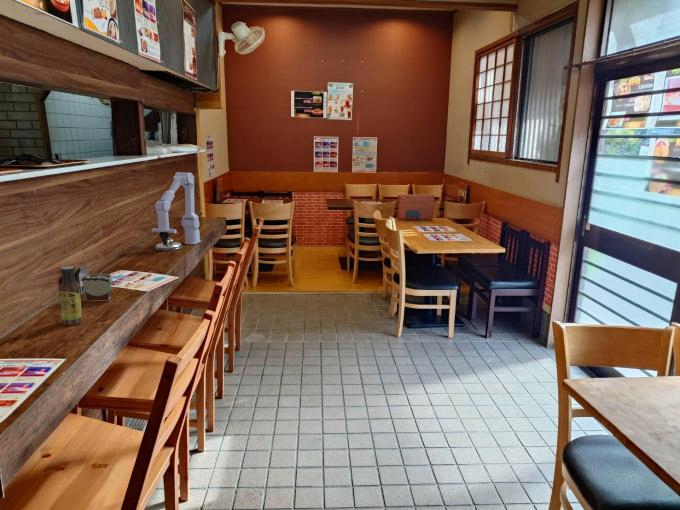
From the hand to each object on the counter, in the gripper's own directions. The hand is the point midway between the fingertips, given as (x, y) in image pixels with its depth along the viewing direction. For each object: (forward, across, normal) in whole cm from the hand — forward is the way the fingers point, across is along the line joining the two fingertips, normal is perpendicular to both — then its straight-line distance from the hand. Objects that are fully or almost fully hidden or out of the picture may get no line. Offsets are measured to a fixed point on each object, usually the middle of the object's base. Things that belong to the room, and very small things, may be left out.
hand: (165, 244), depth 276 cm
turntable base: (+3, -1, +6) cm, 7 cm away
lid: (+1, -1, +6) cm, 6 cm away
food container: (+3, +22, -86) cm, 89 cm away
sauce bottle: (+3, +29, -111) cm, 115 cm away
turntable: (+2, -1, +6) cm, 6 cm away
